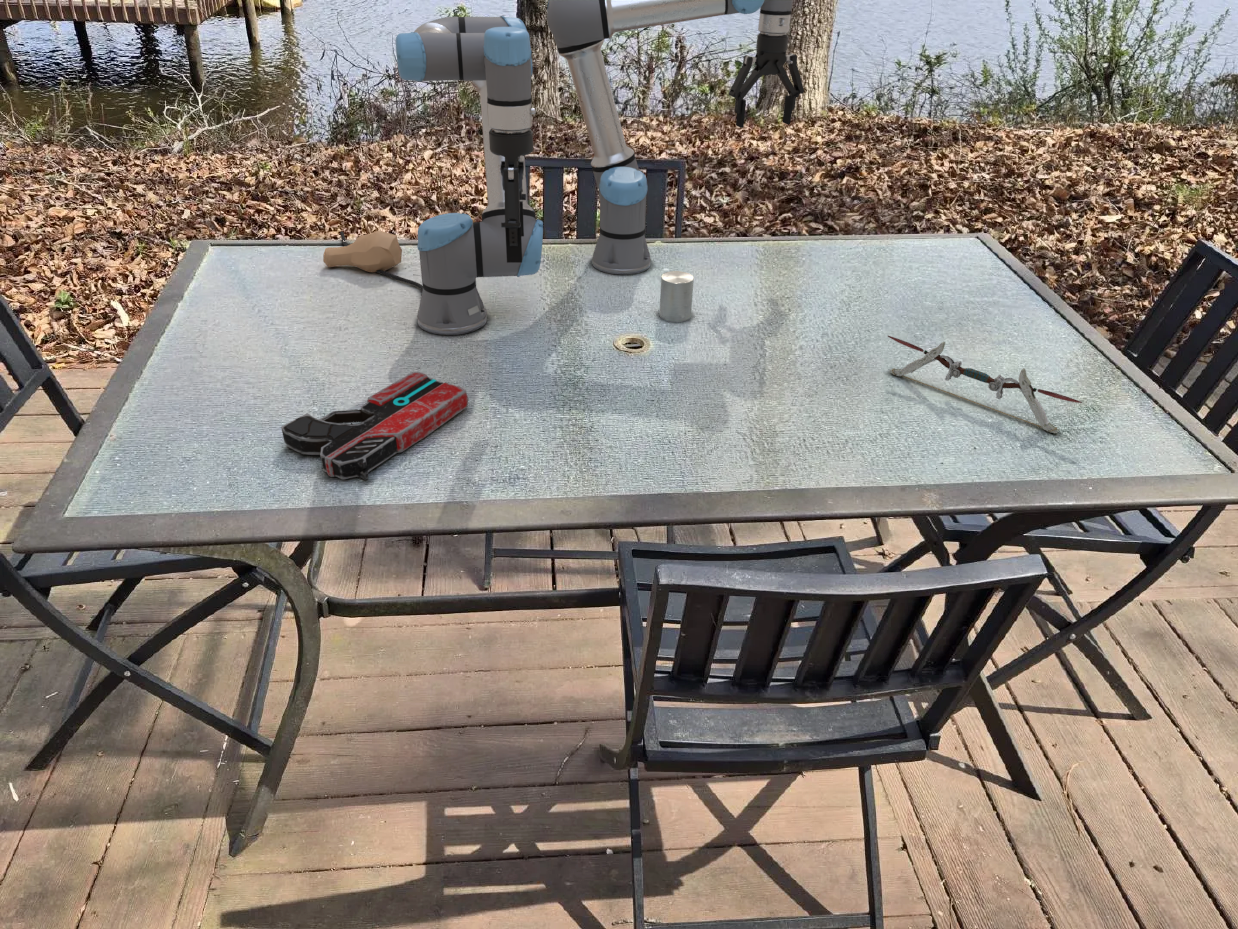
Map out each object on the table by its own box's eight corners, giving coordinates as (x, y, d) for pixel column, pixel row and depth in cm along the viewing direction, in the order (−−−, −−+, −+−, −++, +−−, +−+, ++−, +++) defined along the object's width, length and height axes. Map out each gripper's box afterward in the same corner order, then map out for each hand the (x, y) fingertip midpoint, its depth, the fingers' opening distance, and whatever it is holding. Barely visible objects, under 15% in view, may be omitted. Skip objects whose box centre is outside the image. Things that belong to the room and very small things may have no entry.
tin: (664, 323, 199) (667, 284, 194) (655, 310, 205) (657, 272, 200) (695, 320, 201) (698, 281, 196) (684, 307, 207) (687, 269, 201)
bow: (1071, 436, 162) (1088, 388, 156) (1067, 439, 161) (1085, 392, 155) (883, 367, 183) (892, 323, 178) (878, 369, 182) (888, 325, 177)
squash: (402, 276, 219) (391, 244, 212) (324, 283, 220) (312, 251, 214) (409, 253, 226) (400, 222, 220) (335, 261, 228) (323, 229, 222)
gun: (267, 431, 148) (351, 468, 140) (394, 358, 170) (473, 387, 162) (272, 453, 151) (354, 490, 143) (397, 379, 173) (474, 408, 165)
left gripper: (531, 147, 140) (535, 273, 152) (533, 112, 161) (536, 225, 173) (484, 147, 140) (491, 273, 151) (492, 111, 160) (498, 225, 172)
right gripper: (734, 36, 206) (726, 131, 217) (825, 33, 213) (812, 125, 225) (720, 32, 211) (712, 124, 223) (809, 29, 219) (797, 118, 231)
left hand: (515, 248), depth 162 cm, fingers open, 13 cm apart
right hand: (763, 124), depth 224 cm, fingers open, 13 cm apart
